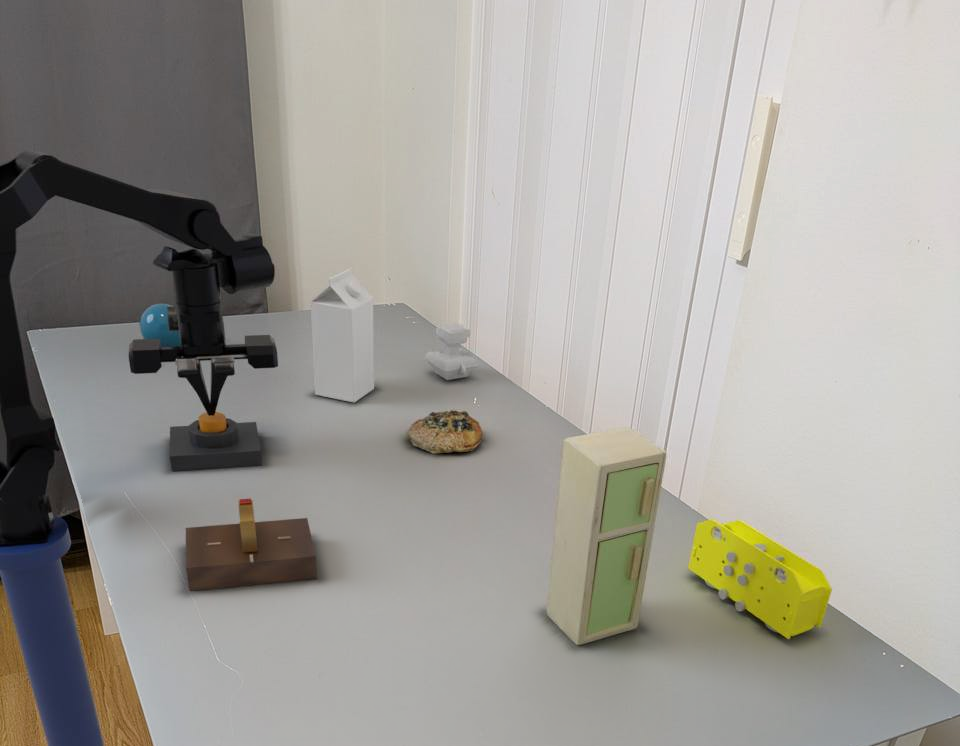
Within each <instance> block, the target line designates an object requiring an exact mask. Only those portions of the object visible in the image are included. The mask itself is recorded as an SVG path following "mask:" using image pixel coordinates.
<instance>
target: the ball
mask: <svg viewBox="0 0 960 746" xmlns="http://www.w3.org/2000/svg"><path fill="white" fill-rule="evenodd" d="M167 307H175V306H173V305H171V304H168V303H154V304H153V305H150V306H149V307H147V308H146V309H145V311H144V312H143V313H142V315H141V317H140V318H139V319H140V320H139V331H140V334H141V336H142V339H160V341H161V346H162V347H178V346H181V343H180V335H179V331H170V330H169V325H168V316H167Z"/></svg>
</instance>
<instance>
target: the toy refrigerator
mask: <svg viewBox="0 0 960 746" xmlns="http://www.w3.org/2000/svg"><path fill="white" fill-rule="evenodd" d="M666 461H667V451H666V450H665V449H663V448H662V447H661V446H660V445H658V444H656V443H654V442H653V441H652V440H650V439H648V438H647V437H645V436H644V435H642V434H641V433H639V432H638V431H637V430H635V429H633V428H631V427H629V426H625V427H617V428H611V429H607V430H602V431H597V432H592V433H591V432H590V433H587V434H581V435H576V436H571V437H566V438H565V439H564V440H563V442H562V450H561V459H560V470H559V478H558V479H559V480H558V490H557V500H556V513H555V522H554V523H555V524H554V530H553V531H554V532H553V539H552V541H553V542H552V550H551V551H552V552H551V560H550V561H551V562H550V570H549V571H550V572H549V579H548V591H547V592H548V593H547V602H546V615H547V617H548V618H549V619H550V620H551V621H552V622H553V623H554V624H555V625H556V626H557V627H558V628H559V629H560V630H561V631H562V632H563V633H564V634H565V635H566V636H567V637H568V638H569V639H570V640H571V641H572V642H573V643H574V644H575V645H576V646H581V645H585V644H589V643H592V642H596V641H599V640H602V639H605V638H608V637H611V636H615V635H619V634H622V633H625V632H628V631H632V630H636V629H637V627H638V626H639V620H640V615H641V610H642V603H643V598H644V597H643V596H644V591H645V585H646V579H647V572H648V567H649V561H650V554H651V549H652V543H653V538H654V532H655V525H656V520H657V515H658V510H659V503H660V497H661V490H662V484H663V478H664V474H665V469H666Z"/></svg>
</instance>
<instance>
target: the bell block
mask: <svg viewBox="0 0 960 746" xmlns="http://www.w3.org/2000/svg"><path fill="white" fill-rule="evenodd" d="M226 425H227V429H226V430H224V431H220V432H213V433H208V432H202V431H201V430H200V425H199V419H197V420H194V421H193V422H191V423H190V424H188V425H177V426H170V427H169V461H170V462H169V463H170V469H171V472H180V471H193V470H194V471H195V470H207V469H224V468H237V467H239V468H240V467H253V466H263V459H262V458H263V457H262V448H261V443H260V437H259V431H258V425H257V421H249V422H248V421H247V422H246V421H245V422H237V421H235V420H233V419H232V418H229V417H226Z"/></svg>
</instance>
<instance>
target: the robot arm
mask: <svg viewBox="0 0 960 746" xmlns="http://www.w3.org/2000/svg"><path fill="white" fill-rule="evenodd" d="M54 197H59V198H61V199H66V200H69V201H72V202H75V203H79V204H82V205H85V206H88V207H92V208H95V209H98V210H101V211H104V212H108V213H112V214H114V215H117V216H121V217H124V218H128V219H131V220H134V221H135V222H138V223H139V224H141V225H143V226H144V227H146V228H147V229H149V230H151V231H153V232H154V233H157V234H158V235H161V236H163V238H164V237H165V238H166V239H168V240H171V241H173V242H177V243H180V244H182V245H185V246H188V247H190V249H189V248H188V249H183V250H176V249H175V248H173V247H170V246H168V245H165V246H163V248H162V250H161V252H160V253H159V254H158V255H157V256H156V257H155V258H154V259H153V260H152V264H153V265H154V266H155V267H158V268H159V269H163V270H165V271H167V272H170V273H171V280H172V288H173V289H172V290H173V296H174V304H175V306H174V307H167V316H168V325H169V330H170V331H179V335H180V343H181V346H178V347H162V346H161V341H160V339H144V338H139V339H138V338H137V339H132V341H131V342H130V343H129V347H128V364H129V368H130V369H129V370H130V373H131V374H135V375H141V374H157V373H158V372H159V371H160V370H161V368H162V366H163V365H162V363H175V366H177V367H176V368H177V369H176V370H177V377H178V378H180V379H186V380H187V382H188V383H189V385H190V386H191V387H192V389H193V391H194V392H195V393H196V394H197V397H198V398H199V401H200V402H201V404H202V406H203V408H204V410H205V413H207V414H208V415H209V416H211V415H212V416H214V415H215V412H217V407H218V404H219V399H220V395H221V393H222V389H223V387H224V386H225V383H226V380H227V379H228V377H232V376H235V374H236V370H235V360H247V364H248V365H249V366H251V367H252V368H253V369H255V370H256V369H257V370H258V369H275V368H277V367H279V359H278V349H277V345H276V341H275V338H274V337H273V336H272V335H270V334H253V335H252V334H251V335H244V343H238V344H237V343H233V344H226V341H227V340H226V333H225V323H224V316H223V315H224V314H223V305H222V296H221V289H222V290H223V291H224V292H226V293H227V294H228V295H235V294H240V293H244V292H248V291H255V290H259V289H263V288H268V287H270V286H272V284H274V283H273V282H274V280H275V275H276V270H275V269H276V268H275V264H274V263H273V260H272V257H271V254H270V252H269V251H268V249H267V248H266V246H264V242H263V241H264V240H263V236H262V235H260V234H256V233H254V232H252V233H245V234H243V235H241V236H238V237H233V236H232V235H231V234H230V233H229V232H228V230H227V229H226V228H225V226H224V225H223V223H222V222H221V221H222V220H221V217H220V216H221V215H220V213H219V212H218V208H217V206H215V204H214V203H212V202H210V201H209V200H206V199H203V198H200V197H197V196H193V195H190V194H188V193H187V194H186V193H183V192H180V191H177V190H176V191H174V190H167V189H160V188H146V187H145V188H144V187H138V186H135V185H132V184H129V183H126V182H124V181H120V180H118V179H114V178H111V177H109V176H105V175H102V174H100V173H96V172H93V171H91V170H88V169H85V168H82V167H78V166H75V165H72V164H69V163H67V162H64V161H62V160H60V159H58V158H57V157H55V156H54V155H51V154H48V153H45V152H41V151H38V150H34V149H27V150H24V151H22V152H21V153H19V154H17V155H15V156H14V157H12V158H11V159H9V160H7V161H6V162H2V163H0V547H6V546H18V545H31V544H43V543H46V542H47V541H48V538H49V533H50V532H51V531H52V529H53V524H54V518H53V515H54V514H53V512H52V511H53V509H52V504H51V500H50V497H49V493H47V487H48V480H49V473H50V471H51V469H53V468H54V467H55V464H56V452H60V451H61V448H60V447H59V444H58V443H57V439H56V423H55V419H54V418H53V416H51V415H49V414H47V412H44V411H42V410H41V409H40V408H38V407H37V406H35V405H34V404H33V401H32V397H31V390H30V386H29V380H28V374H27V368H26V362H25V357H24V350H23V345H22V339H21V334H20V328H19V322H18V317H17V311H16V306H15V305H16V304H15V300H14V294H13V289H12V282H11V273H12V270H13V265H14V262H15V259H16V255H17V229H18V228H20V227H21V226H23V225H25V224H26V223H27V222H29V221H30V220H32V219H33V218H34V217H35V216H36V215H37V214H38V213H39V212H40V211H41V209H42V208H43V207H44V206H45V205H46V203H47V202H48V201H50V200H51V199H52V198H54ZM200 250H202V251H204V250H210V251H211V252H205V253H202V252H201V251H200ZM203 361H210V392H208V388H207V385H206V381H205V377H204V372H203V368H202V363H201V362H203ZM209 393H210V394H209ZM209 395H210V396H209Z"/></svg>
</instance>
